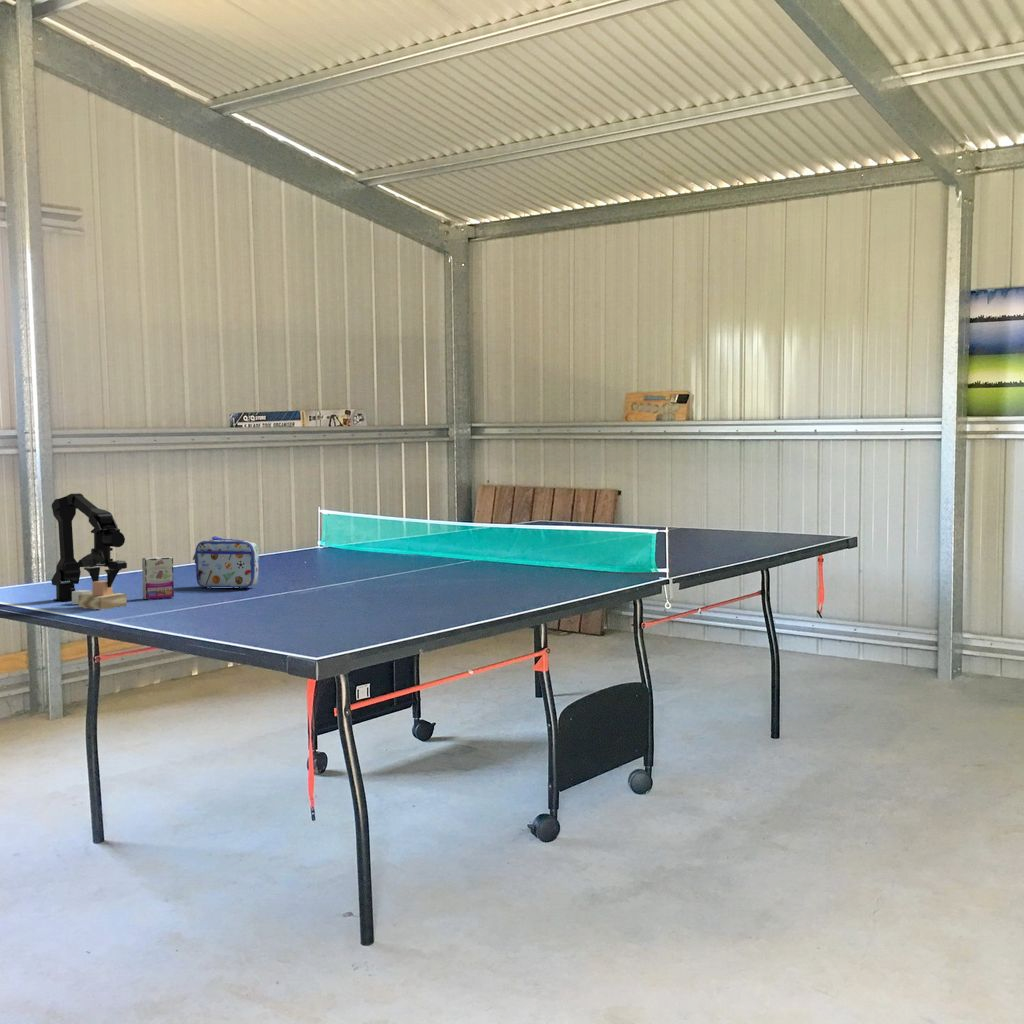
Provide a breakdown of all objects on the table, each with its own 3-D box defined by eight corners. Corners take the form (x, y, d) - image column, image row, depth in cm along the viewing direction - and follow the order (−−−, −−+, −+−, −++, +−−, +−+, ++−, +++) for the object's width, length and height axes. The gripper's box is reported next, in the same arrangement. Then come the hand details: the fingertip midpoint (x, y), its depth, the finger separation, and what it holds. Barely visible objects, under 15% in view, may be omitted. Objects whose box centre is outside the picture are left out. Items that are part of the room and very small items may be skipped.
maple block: (78, 608, 402) (78, 595, 402) (104, 604, 412) (104, 591, 412) (101, 611, 396) (101, 597, 396) (126, 607, 407) (126, 593, 407)
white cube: (71, 604, 409) (71, 591, 409) (81, 602, 414) (81, 589, 414) (82, 605, 407) (82, 592, 407) (91, 603, 412) (91, 590, 412)
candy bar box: (170, 596, 432) (169, 556, 431) (174, 598, 428) (173, 557, 427) (141, 598, 426) (141, 557, 425) (145, 600, 422) (145, 558, 421)
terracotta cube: (92, 595, 402) (92, 581, 402) (102, 593, 407) (101, 580, 407) (103, 595, 401) (103, 582, 400) (112, 594, 405) (112, 581, 405)
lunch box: (190, 588, 456) (189, 537, 454) (199, 585, 466) (199, 535, 465) (253, 590, 453) (252, 538, 452) (261, 587, 463) (261, 536, 462)
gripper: (66, 546, 399) (67, 587, 400) (106, 548, 392) (106, 591, 393) (88, 543, 409) (89, 584, 410) (127, 546, 402) (128, 587, 403)
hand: (102, 586), depth 404 cm, fingers open, 6 cm apart
